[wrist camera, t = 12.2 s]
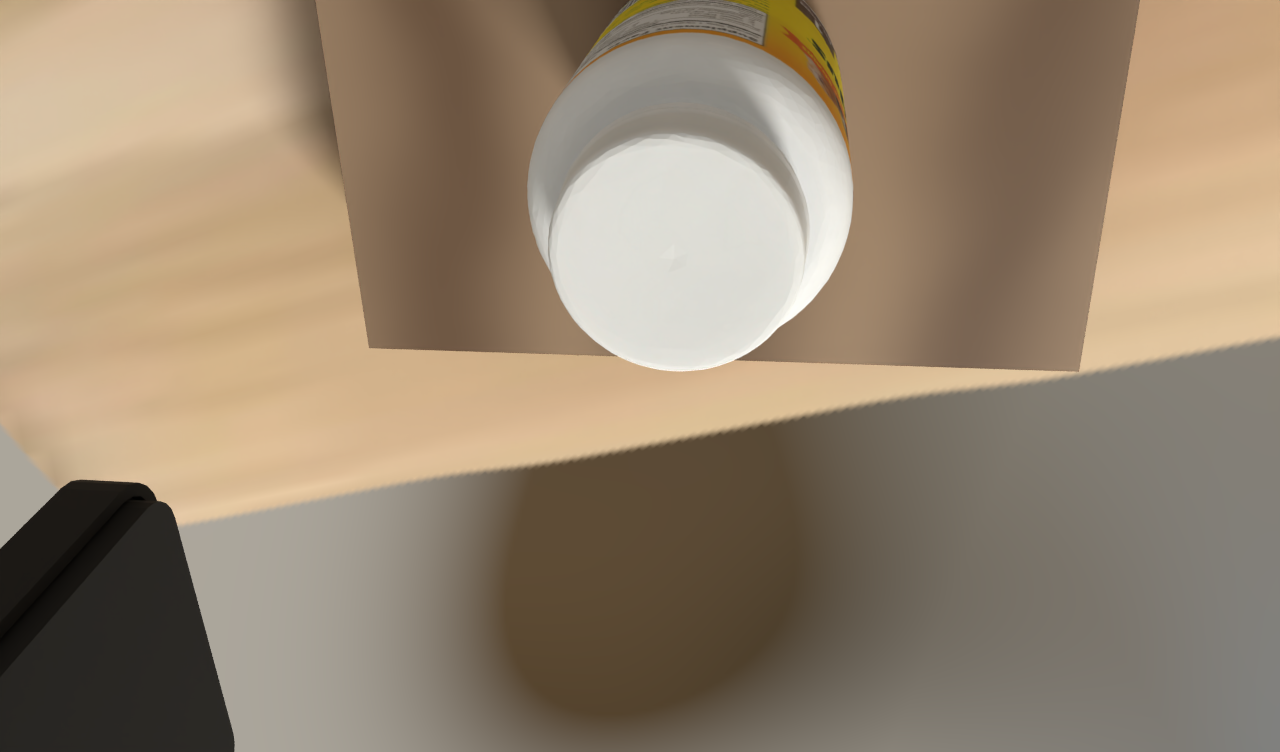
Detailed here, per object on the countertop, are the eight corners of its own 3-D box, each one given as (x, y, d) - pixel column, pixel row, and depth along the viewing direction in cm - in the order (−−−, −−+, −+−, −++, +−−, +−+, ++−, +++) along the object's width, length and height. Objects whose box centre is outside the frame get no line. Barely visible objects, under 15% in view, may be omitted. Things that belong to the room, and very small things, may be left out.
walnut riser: (1126, -282, 27) (1186, -282, 23) (1045, 286, 34) (1078, 371, 29) (356, -257, 29) (276, -253, 25) (423, 271, 36) (369, 348, 32)
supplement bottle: (827, 212, 28) (836, 437, 19) (593, 193, 29) (495, 403, 20) (858, -36, 25) (884, 91, 17) (598, -53, 26) (489, 62, 17)
